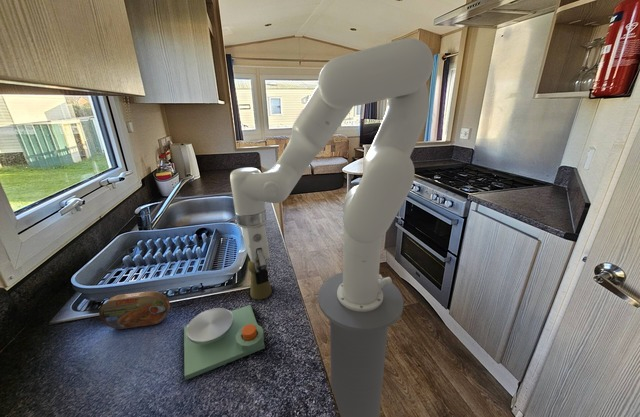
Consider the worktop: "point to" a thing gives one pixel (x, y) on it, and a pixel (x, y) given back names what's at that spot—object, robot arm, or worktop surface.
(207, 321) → the pan
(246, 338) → the tare button
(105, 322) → the tin
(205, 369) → the scale
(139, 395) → the worktop surface
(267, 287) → the olive game pawn
